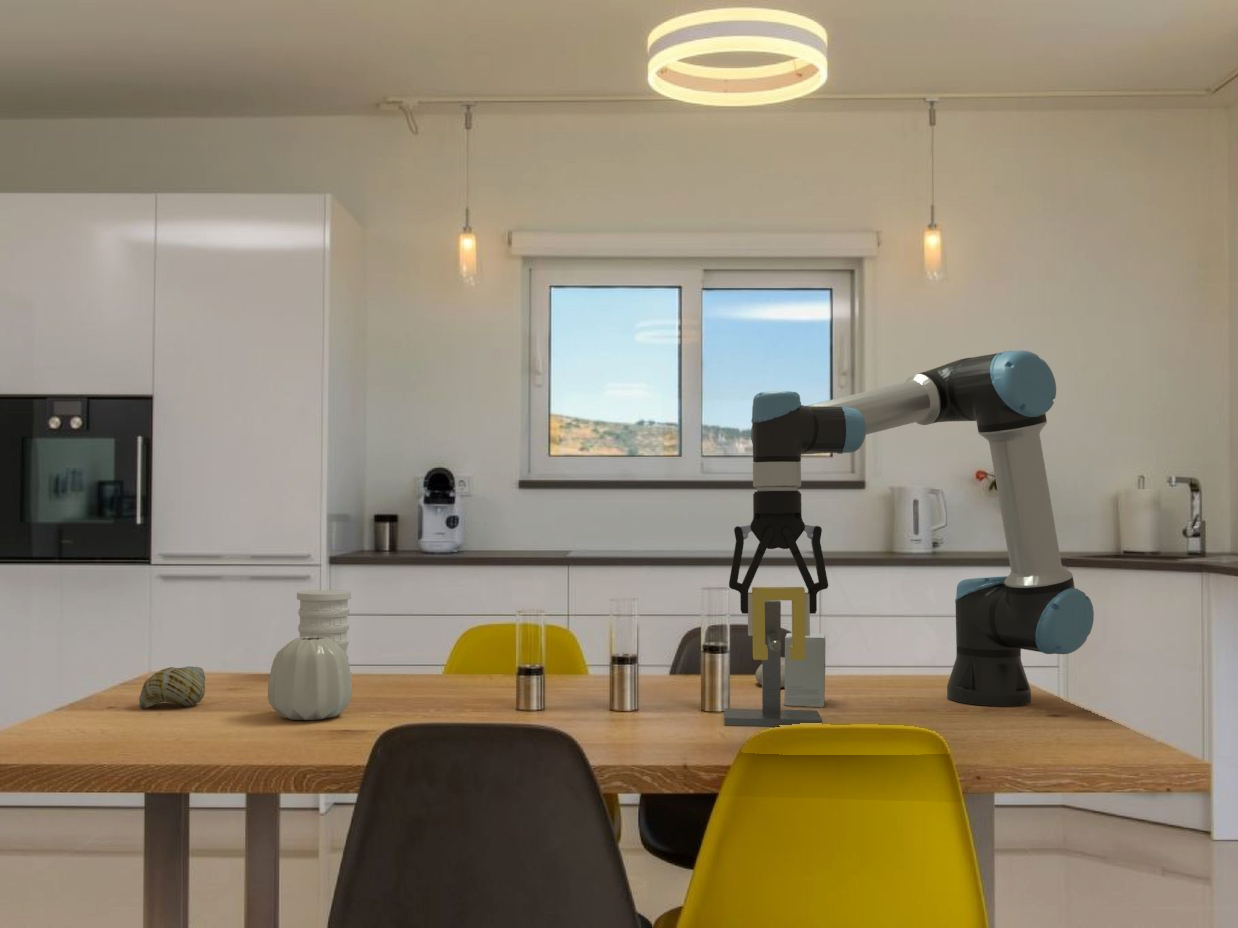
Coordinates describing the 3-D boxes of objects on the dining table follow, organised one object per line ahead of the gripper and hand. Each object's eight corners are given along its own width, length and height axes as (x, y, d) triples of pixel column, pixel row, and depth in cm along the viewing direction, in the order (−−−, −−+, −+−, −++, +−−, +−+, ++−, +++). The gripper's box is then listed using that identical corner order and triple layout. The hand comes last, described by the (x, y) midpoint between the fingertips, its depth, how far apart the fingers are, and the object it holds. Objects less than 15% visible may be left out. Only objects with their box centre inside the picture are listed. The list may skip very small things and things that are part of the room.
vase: (263, 712, 196) (265, 635, 197) (345, 707, 202) (346, 632, 202) (272, 727, 184) (274, 644, 184) (359, 721, 189) (360, 640, 190)
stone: (790, 703, 237) (773, 669, 240) (826, 679, 232) (808, 645, 236) (757, 705, 227) (739, 669, 230) (794, 681, 222) (775, 645, 226)
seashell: (124, 703, 201) (149, 650, 205) (170, 722, 207) (193, 670, 211) (153, 707, 194) (178, 652, 198) (200, 726, 200) (223, 672, 204)
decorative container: (307, 674, 240) (308, 589, 241) (359, 676, 239) (361, 590, 239) (283, 683, 229) (285, 593, 229) (338, 684, 227) (340, 594, 228)
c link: (803, 656, 179) (802, 586, 180) (805, 659, 176) (804, 588, 176) (752, 656, 180) (752, 586, 180) (753, 659, 177) (752, 588, 177)
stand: (817, 717, 196) (817, 600, 196) (826, 736, 179) (826, 609, 180) (724, 715, 197) (724, 599, 198) (725, 734, 181) (725, 607, 181)
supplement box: (824, 707, 205) (824, 637, 206) (783, 705, 207) (783, 636, 207) (825, 700, 213) (825, 633, 213) (785, 699, 214) (785, 631, 214)
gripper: (841, 489, 182) (843, 632, 181) (710, 490, 183) (712, 631, 183) (846, 489, 174) (848, 637, 174) (710, 490, 176) (711, 637, 175)
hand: (778, 634), depth 178 cm, fingers closed on c link, 8 cm apart
